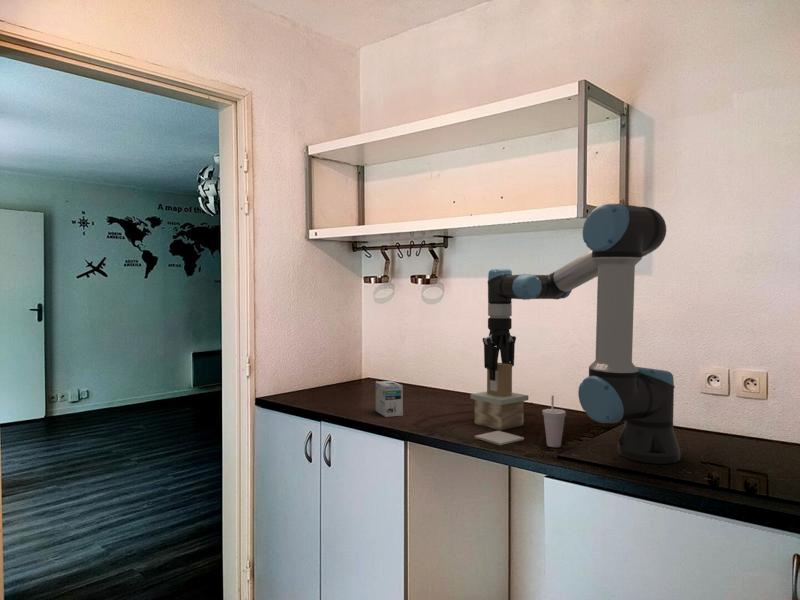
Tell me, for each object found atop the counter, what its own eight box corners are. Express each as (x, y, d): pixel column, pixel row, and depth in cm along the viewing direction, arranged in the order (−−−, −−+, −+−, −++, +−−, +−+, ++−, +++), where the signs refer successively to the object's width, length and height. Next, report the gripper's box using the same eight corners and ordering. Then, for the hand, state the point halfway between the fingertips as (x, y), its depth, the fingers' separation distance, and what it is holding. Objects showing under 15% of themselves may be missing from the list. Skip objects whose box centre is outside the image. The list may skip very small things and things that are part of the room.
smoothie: (537, 443, 160) (537, 394, 159) (556, 441, 162) (556, 392, 162) (551, 449, 154) (551, 398, 153) (570, 447, 156) (571, 396, 156)
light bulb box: (403, 416, 194) (403, 384, 193) (385, 417, 191) (385, 385, 191) (392, 409, 204) (392, 380, 203) (374, 411, 201) (374, 381, 201)
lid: (528, 400, 181) (528, 364, 180) (500, 405, 173) (500, 367, 172) (498, 394, 191) (498, 360, 191) (470, 398, 183) (470, 363, 183)
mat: (523, 439, 164) (523, 437, 164) (500, 445, 158) (500, 443, 158) (498, 432, 172) (498, 430, 172) (474, 437, 166) (474, 435, 166)
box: (523, 425, 181) (523, 400, 181) (500, 430, 174) (500, 404, 174) (497, 418, 190) (497, 395, 190) (474, 423, 183) (474, 398, 183)
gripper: (508, 316, 190) (508, 385, 190) (472, 317, 179) (472, 390, 180) (526, 316, 184) (525, 388, 184) (489, 318, 173) (489, 394, 174)
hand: (499, 389), depth 182 cm, fingers closed on lid, 4 cm apart
